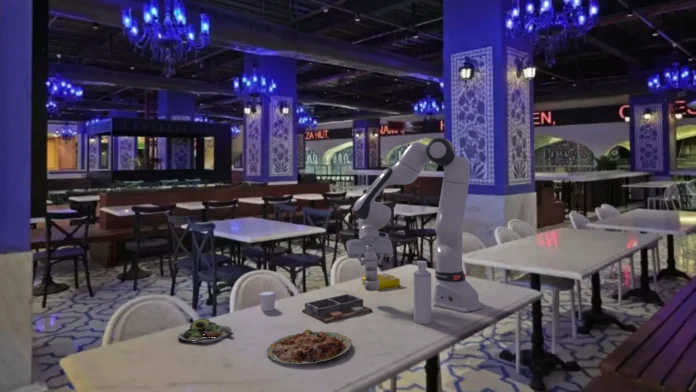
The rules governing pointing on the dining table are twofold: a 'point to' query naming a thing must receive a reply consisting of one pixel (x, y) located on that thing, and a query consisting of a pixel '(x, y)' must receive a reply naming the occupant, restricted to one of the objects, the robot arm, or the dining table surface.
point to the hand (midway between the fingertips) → (371, 264)
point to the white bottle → (422, 294)
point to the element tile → (386, 281)
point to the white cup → (267, 300)
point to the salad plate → (204, 331)
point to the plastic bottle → (371, 269)
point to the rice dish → (309, 347)
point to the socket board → (336, 308)
